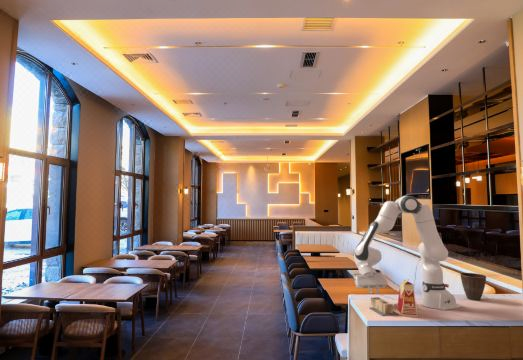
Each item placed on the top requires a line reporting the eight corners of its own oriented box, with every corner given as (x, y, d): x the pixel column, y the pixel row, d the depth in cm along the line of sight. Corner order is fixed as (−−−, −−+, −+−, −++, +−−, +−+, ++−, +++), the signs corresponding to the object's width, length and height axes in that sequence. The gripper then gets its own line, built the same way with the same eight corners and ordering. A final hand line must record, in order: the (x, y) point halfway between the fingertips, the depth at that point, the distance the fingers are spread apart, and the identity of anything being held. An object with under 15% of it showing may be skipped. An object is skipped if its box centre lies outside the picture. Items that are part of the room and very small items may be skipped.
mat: (384, 307, 208) (384, 306, 208) (398, 314, 195) (398, 313, 195) (369, 308, 206) (369, 307, 206) (382, 315, 193) (382, 314, 193)
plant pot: (492, 302, 223) (491, 277, 224) (468, 302, 224) (468, 277, 225) (478, 296, 238) (477, 273, 239) (456, 296, 239) (455, 272, 240)
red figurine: (418, 316, 192) (417, 280, 193) (401, 316, 193) (400, 279, 194) (413, 312, 201) (412, 277, 202) (396, 311, 202) (396, 276, 203)
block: (378, 297, 211) (392, 304, 196) (378, 305, 210) (392, 313, 196) (370, 297, 210) (384, 304, 195) (371, 306, 209) (384, 313, 195)
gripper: (353, 271, 216) (361, 291, 205) (383, 270, 220) (392, 289, 210) (350, 277, 220) (358, 296, 209) (379, 276, 224) (388, 295, 214)
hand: (375, 293), depth 210 cm, fingers open, 2 cm apart
